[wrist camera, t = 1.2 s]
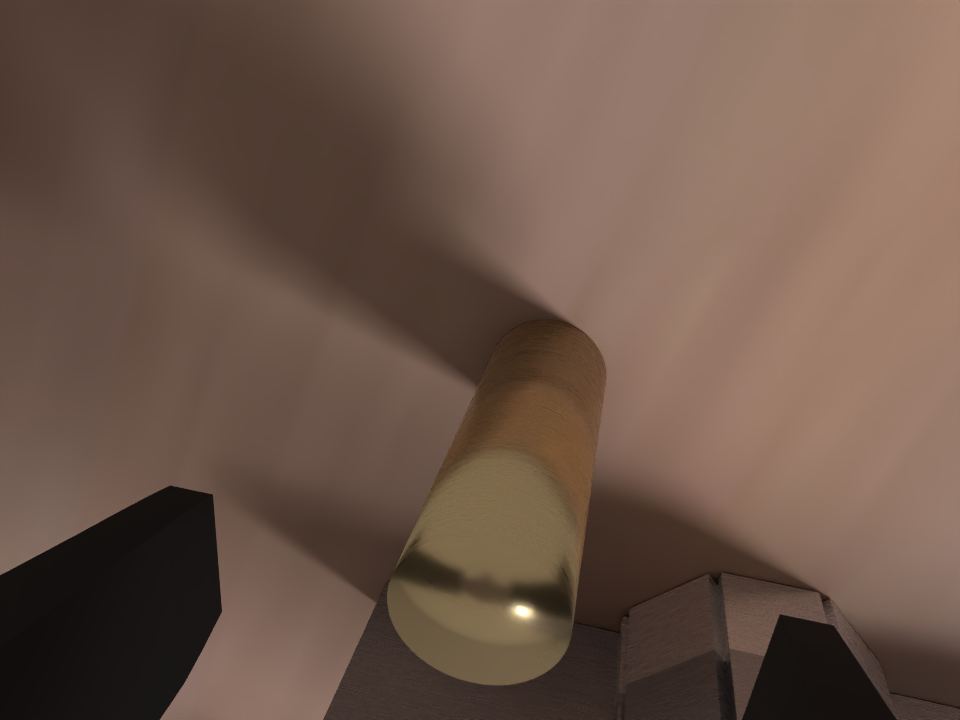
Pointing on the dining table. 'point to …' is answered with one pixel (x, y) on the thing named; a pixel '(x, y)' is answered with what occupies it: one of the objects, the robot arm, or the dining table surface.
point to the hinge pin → (507, 515)
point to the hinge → (616, 664)
